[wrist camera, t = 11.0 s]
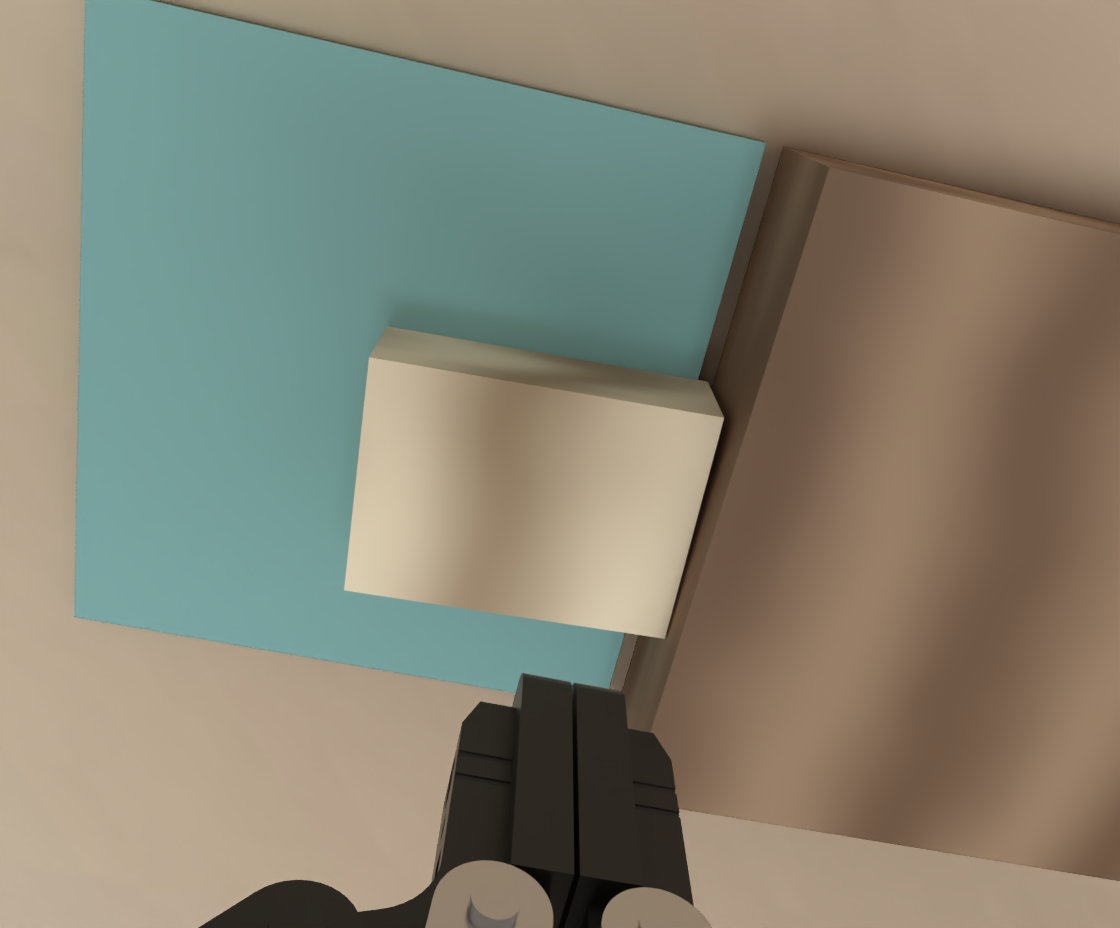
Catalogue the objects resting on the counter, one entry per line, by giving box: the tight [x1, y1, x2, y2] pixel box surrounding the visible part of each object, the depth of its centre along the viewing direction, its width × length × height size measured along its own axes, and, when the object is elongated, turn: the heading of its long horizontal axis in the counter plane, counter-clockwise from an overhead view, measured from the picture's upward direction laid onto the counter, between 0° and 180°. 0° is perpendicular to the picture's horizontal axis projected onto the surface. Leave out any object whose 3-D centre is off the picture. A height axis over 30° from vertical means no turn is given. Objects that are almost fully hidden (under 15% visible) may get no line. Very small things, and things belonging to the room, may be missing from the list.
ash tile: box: [344, 326, 724, 639], centre depth 24 cm, size 8×6×2 cm
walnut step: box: [622, 147, 1120, 881], centre depth 24 cm, size 14×16×4 cm
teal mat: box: [74, 0, 766, 693], centre depth 24 cm, size 15×16×1 cm
